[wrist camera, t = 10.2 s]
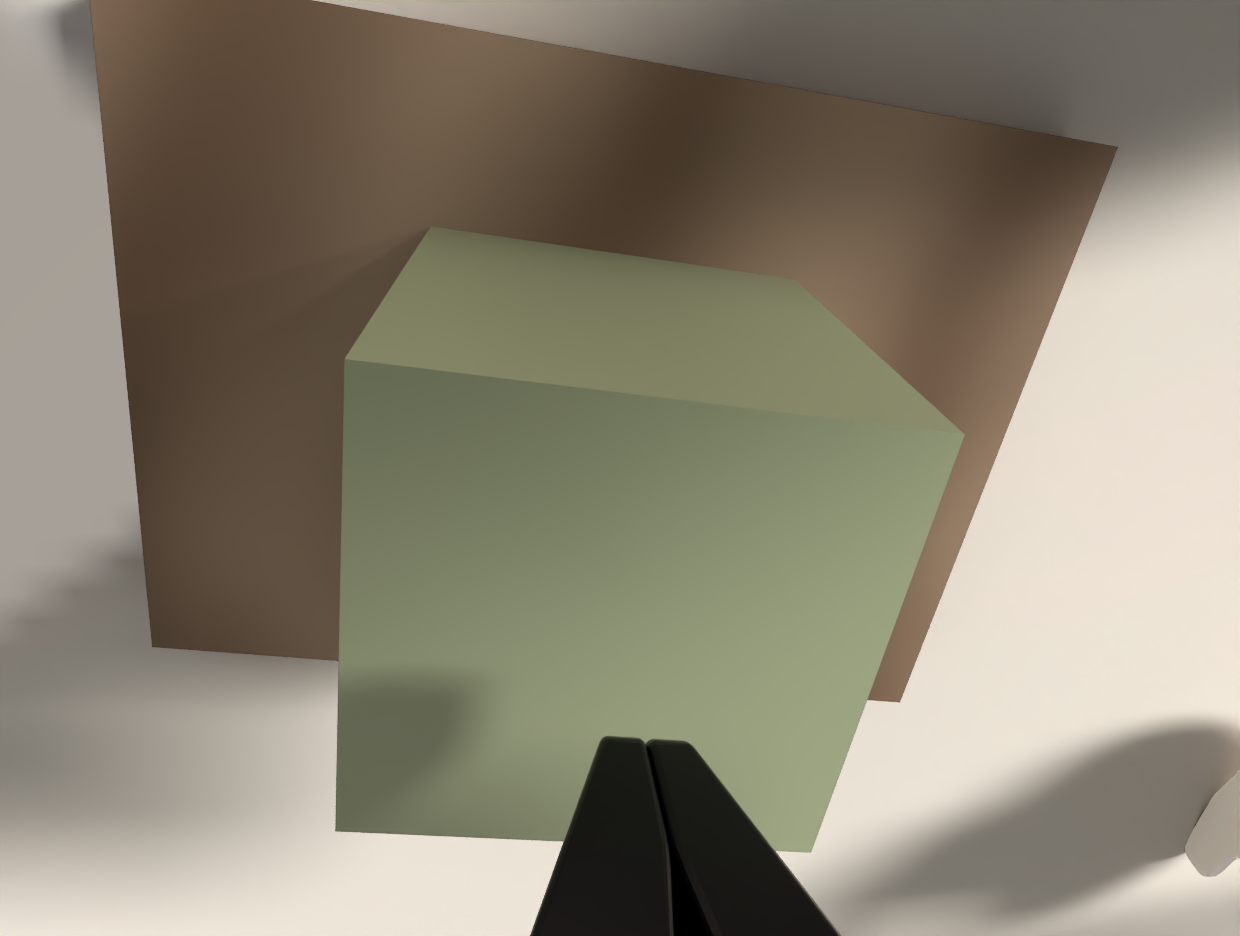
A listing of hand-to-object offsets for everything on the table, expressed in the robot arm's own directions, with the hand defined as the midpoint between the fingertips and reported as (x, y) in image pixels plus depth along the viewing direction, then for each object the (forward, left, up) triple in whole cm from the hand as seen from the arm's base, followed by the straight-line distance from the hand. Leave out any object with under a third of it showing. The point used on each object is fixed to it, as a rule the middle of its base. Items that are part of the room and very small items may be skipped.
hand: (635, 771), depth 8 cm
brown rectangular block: (0, 0, -10) cm, 10 cm away
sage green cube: (0, 0, -8) cm, 8 cm away
